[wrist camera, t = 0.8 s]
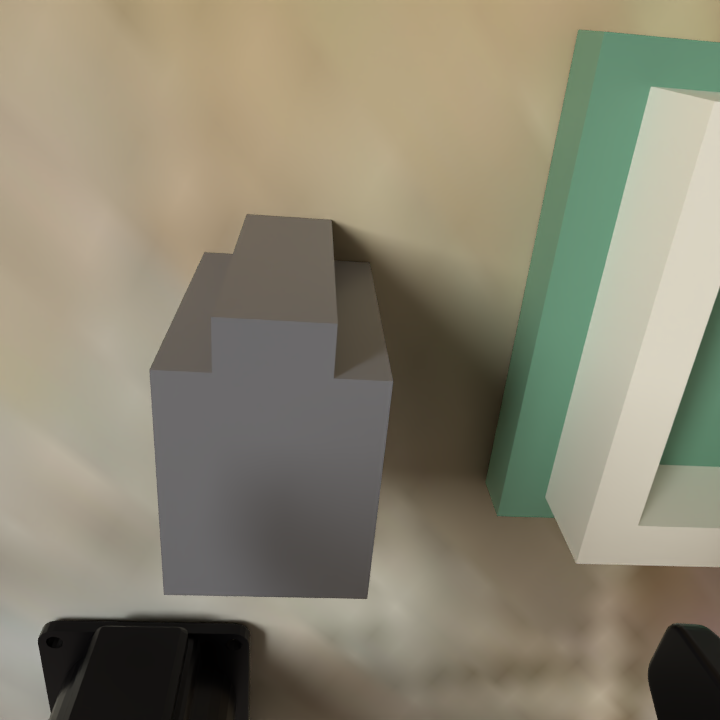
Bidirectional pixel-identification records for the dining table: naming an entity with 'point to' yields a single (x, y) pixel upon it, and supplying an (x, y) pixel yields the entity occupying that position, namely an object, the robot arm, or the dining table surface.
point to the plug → (272, 419)
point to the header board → (623, 314)
